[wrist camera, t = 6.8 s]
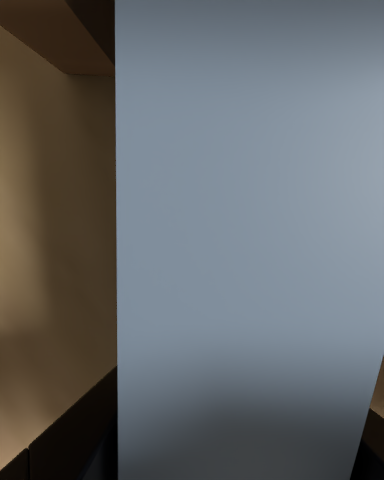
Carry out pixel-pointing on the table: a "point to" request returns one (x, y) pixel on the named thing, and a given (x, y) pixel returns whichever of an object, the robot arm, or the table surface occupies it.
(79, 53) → the wooden arch
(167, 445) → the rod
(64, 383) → the table surface
